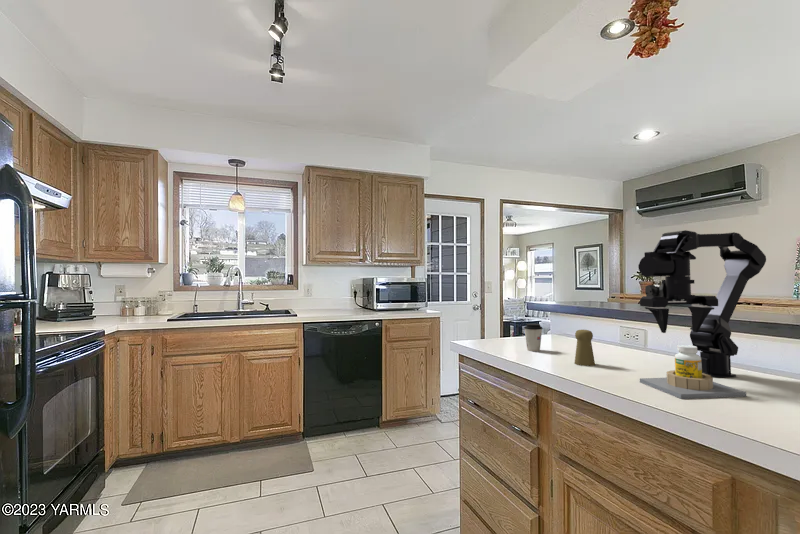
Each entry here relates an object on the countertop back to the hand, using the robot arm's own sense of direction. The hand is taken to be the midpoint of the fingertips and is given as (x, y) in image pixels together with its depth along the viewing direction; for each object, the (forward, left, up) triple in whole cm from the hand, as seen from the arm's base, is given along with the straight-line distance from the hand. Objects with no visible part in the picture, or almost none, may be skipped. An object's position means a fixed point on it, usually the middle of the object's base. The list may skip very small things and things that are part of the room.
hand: (679, 332), depth 107 cm
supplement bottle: (+6, +10, -12) cm, 16 cm away
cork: (+17, -19, -13) cm, 29 cm away
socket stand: (+6, +10, -12) cm, 17 cm away
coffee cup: (+24, -43, -13) cm, 51 cm away
